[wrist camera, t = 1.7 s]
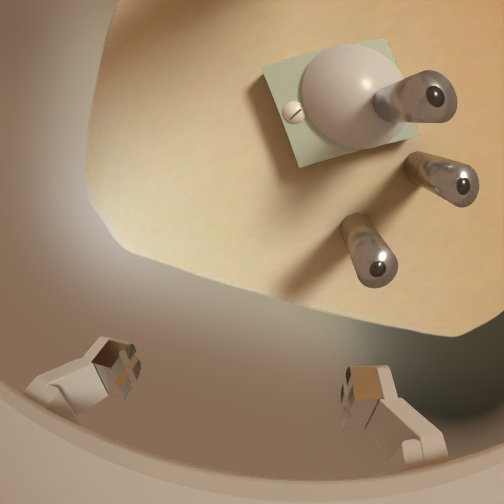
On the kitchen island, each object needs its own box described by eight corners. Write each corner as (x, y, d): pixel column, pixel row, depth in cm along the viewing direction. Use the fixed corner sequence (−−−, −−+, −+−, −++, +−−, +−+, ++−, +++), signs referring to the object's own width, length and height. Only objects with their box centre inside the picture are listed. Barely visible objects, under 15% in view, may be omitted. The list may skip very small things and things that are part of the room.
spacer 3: (401, 155, 33) (443, 168, 22) (428, 148, 31) (476, 160, 21) (408, 186, 34) (449, 211, 23) (434, 179, 33) (481, 202, 22)
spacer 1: (337, 218, 38) (353, 255, 27) (367, 209, 36) (395, 243, 26) (344, 247, 39) (360, 293, 28) (374, 238, 38) (400, 281, 27)
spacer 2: (367, 90, 27) (404, 73, 16) (400, 84, 26) (447, 68, 15) (379, 126, 29) (421, 126, 18) (411, 119, 27) (463, 119, 17)
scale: (263, 72, 31) (260, 66, 28) (379, 44, 27) (387, 36, 24) (298, 165, 35) (299, 168, 32) (411, 135, 31) (422, 136, 28)
